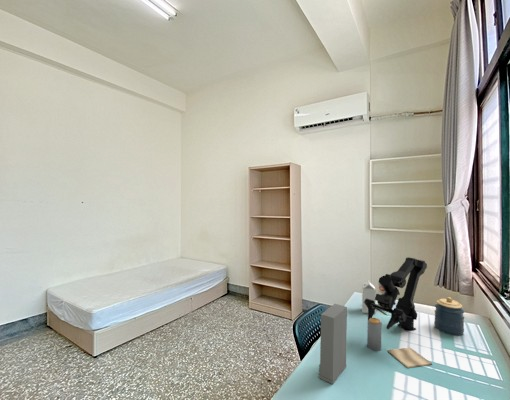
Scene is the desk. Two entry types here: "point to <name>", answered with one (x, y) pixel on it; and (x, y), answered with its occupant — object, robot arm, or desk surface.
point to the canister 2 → (449, 316)
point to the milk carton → (367, 294)
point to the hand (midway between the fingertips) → (377, 324)
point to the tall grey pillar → (333, 343)
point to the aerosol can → (380, 290)
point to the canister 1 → (374, 334)
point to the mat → (409, 357)
